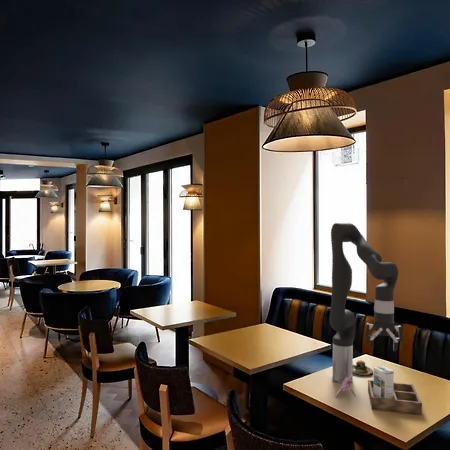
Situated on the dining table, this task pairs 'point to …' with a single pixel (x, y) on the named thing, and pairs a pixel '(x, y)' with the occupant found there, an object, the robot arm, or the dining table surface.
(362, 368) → the burger
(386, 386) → the syrup box
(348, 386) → the lily
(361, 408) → the dining table surface
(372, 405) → the caddy
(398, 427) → the dining table surface
